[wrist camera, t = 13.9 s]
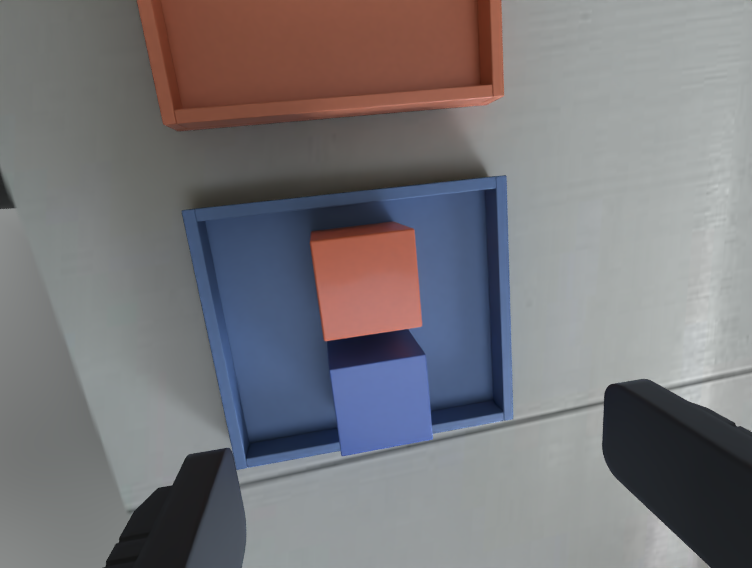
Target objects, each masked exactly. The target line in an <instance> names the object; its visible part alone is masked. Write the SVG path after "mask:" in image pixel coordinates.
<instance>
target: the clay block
mask: <svg viewBox="0 0 752 568" xmlns="http://www.w3.org/2000/svg"><path fill="white" fill-rule="evenodd" d="M310 248H311V255H312V262H313V269H314V276H315V283H316V290H317V297H318V304H319V311H320V318H321V325H322V332H323V339H324V341H331V340H337V339H344V338H351V337H357V336H364V335H370V334H377V333H384V332H390V331H397V330H404V329H410V328H417V327H421V326H422V315H421V303H420V291H419V278H418V266H417V254H416V242H415V230H414V229H413V228H410V227H408V226H405V225H402V224H399V223H397V222H394V221H393V222H384V223H376V224H368V225H359V226H351V227H342V228H334V229H325V230H317V231H311V234H310Z"/></svg>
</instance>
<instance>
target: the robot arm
mask: <svg viewBox="0 0 752 568" xmlns="http://www.w3.org/2000/svg"><path fill="white" fill-rule="evenodd" d="M602 449H603V455H604V458H605V461H606V463H607V466H608V467H609V469H610V471H611V472H612V474H613V475H614V476H615V477H616V478H617V479H618V480H619V481H620V482H621V483H622V484H623V485H624V486H625V487H626V488H627V489H628V490H629V491H630V492H631V493H632V494H633V495H634V496H636V497H637V498H638V499H639V500H640V501H641V502H642V503H643V504H644V505H645V506H646V507H647V508H648V509H649V510H650V511H651V512H652V513H654V514H655V515H656V516H657V517H658V518H659V519H660V520H661V521H662V522H663V523H664V524H665V525H666V526H667V527H668V528H669V529H670V530H672V531H673V532H674V533H675V534H676V535H677V536H678V537H679V538H680V539H681V540H682V541H683V542H684V543H685V544H686V545H687V546H688V547H690V548H691V549H692V550H693V551H694V552H695V553H696V554H697V555H698V556H699V557H700V558H701V559H702V560H703V561H704V562H705V563H706V564H708V565H709V566H710V567H711V568H752V432H750V431H749V430H747V429H745V428H743V427H741V426H739V427H737V426H736V425H735V423H734V422H732V421H730V420H728V419H727V418H725V417H723V416H721V415H719V414H718V413H716V412H714V411H712V410H710V409H708V408H706V407H703V406H700V405H697V404H694V403H691V402H689V401H687V400H685V399H683V398H681V397H680V396H678V395H676V394H674V393H672V392H671V391H669V390H667V389H665V388H663V387H662V386H660V385H658V384H656V383H654V382H653V381H651V380H648V379H639V380H633V381H627V382H621V383H616V384H611V385H609V386H608V387H607V389H606V391H605V395H604V417H603V441H602ZM245 546H246V518H245V512H244V506H243V501H242V496H241V491H240V486H239V481H238V476H237V471H236V466H235V461H234V457H233V453H232V451H231V449H230V448H224V449H218V450H212V451H206V452H200V453H194V454H189V455H188V456H187V457H186V458H185V460H184V462H183V464H182V467H181V469H180V471H179V473H178V475H177V477H176V479H175V481H174V483H173V485H172V486H166V487H161V488H158V489H157V490H156V491H154V492H153V493H152V494H151V495H150V496H149V497H148V498H147V499H146V500H145V501H144V502H143V503H142V504H141V505H140V506H139V507H138V508H137V509H136V510H135V511H134V513H133V514H132V516H131V518H130V520H129V522H128V523H127V525H126V527H125V529H124V530H123V532H122V534H121V536H120V538H119V543H117V544H116V545H115V547H114V548H113V550H112V552H111V554H110V556H109V557H108V559H107V561H106V567H104V568H242V564H243V558H244V553H245Z"/></svg>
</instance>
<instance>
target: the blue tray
mask: <svg viewBox="0 0 752 568" xmlns="http://www.w3.org/2000/svg"><path fill="white" fill-rule="evenodd" d="M182 216H183V221H184V225H185V230H186V235H187V239H188V244H189V249H190V253H191V258H192V263H193V268H194V272H195V277H196V282H197V286H198V291H199V296H200V300H201V305H202V310H203V315H204V319H205V324H206V329H207V333H208V338H209V343H210V347H211V352H212V357H213V362H214V366H215V371H216V376H217V380H218V385H219V390H220V394H221V399H222V404H223V409H224V413H225V418H226V423H227V427H228V432H229V437H230V441H231V446H232V451H233V456H234V460H235V465H236V469H237V470H239V469H244V468H247V467H248V468H249V467H255V466H260V465H265V464H271V463H276V462H282V461H287V460H293V459H298V458H303V457H309V456H314V455H320V454H325V453H331V452H336V451H341V450H340V443H339V436H338V429H337V422H336V415H335V408H334V401H333V394H332V387H331V380H330V373H329V364H328V352H327V341H324V339H323V332H322V325H321V318H320V311H319V304H318V297H317V290H316V283H315V276H314V269H313V262H312V255H311V248H310V234H311V231H317V230H325V229H334V228H342V227H351V226H359V225H368V224H376V223H384V222H393V221H394V222H397V223H399V224H402V225H405V226H408V227H410V228H413V229H414V230H415V242H416V254H417V266H418V278H419V291H420V303H421V315H422V326H421V327H417V328H410V329H409V331H410V332H411V334H412V335H413V337H414V338H415V340H416V341H417V342H418V344H419V345H420V347H421V348H422V350H423V351H424V353H425V354H426V361H427V373H428V385H429V397H430V409H431V422H432V434H434V433H439V432H445V431H450V430H456V429H461V428H467V427H472V426H477V425H483V424H488V423H494V422H499V421H503V420H504V421H506V420H511V419H513V391H512V356H511V320H510V285H509V250H508V215H507V180H506V175H504V176H493V177H483V178H474V179H464V180H455V181H446V182H437V183H427V184H418V185H409V186H400V187H390V188H381V189H372V190H363V191H353V192H344V193H335V194H326V195H316V196H307V197H298V198H289V199H279V200H270V201H261V202H252V203H242V204H233V205H224V206H215V207H205V208H196V209H189V210H182Z"/></svg>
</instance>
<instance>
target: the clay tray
mask: <svg viewBox="0 0 752 568" xmlns="http://www.w3.org/2000/svg"><path fill="white" fill-rule="evenodd" d="M137 4H138V8H139V13H140V18H141V23H142V27H143V32H144V37H145V41H146V46H147V51H148V55H149V60H150V65H151V70H152V74H153V79H154V84H155V88H156V93H157V98H158V103H159V107H160V112H161V117H162V121H163V124H164V125H165V126H168V127H170V128H172V129H175V130H177V131H189V130H201V129H212V128H224V127H236V126H247V125H259V124H271V123H282V122H294V121H305V120H317V119H329V118H340V117H352V116H364V115H375V114H387V113H398V112H410V111H422V110H433V109H445V108H457V107H468V106H480V105H487V104H489V103H491V102H493V101H495V100H497V99H499V98H501V97H503V96H504V81H503V46H502V11H501V0H137Z"/></svg>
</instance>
